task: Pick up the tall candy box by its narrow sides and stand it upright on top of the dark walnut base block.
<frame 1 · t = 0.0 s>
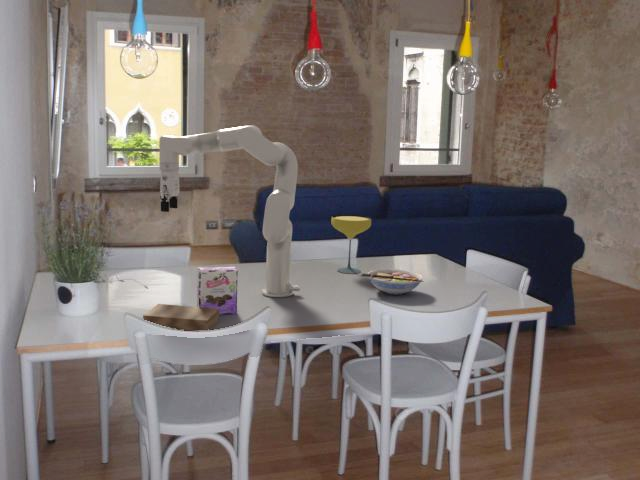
hand: (169, 209, 283), 31 cm above the table, tool pointing down, fingers open, 9 cm apart
ramen bowl: (394, 293, 292), on the table
candy box: (216, 313, 256), on the table
walnut base: (181, 323, 242), on the table
cocktail glass: (348, 271, 326), on the table
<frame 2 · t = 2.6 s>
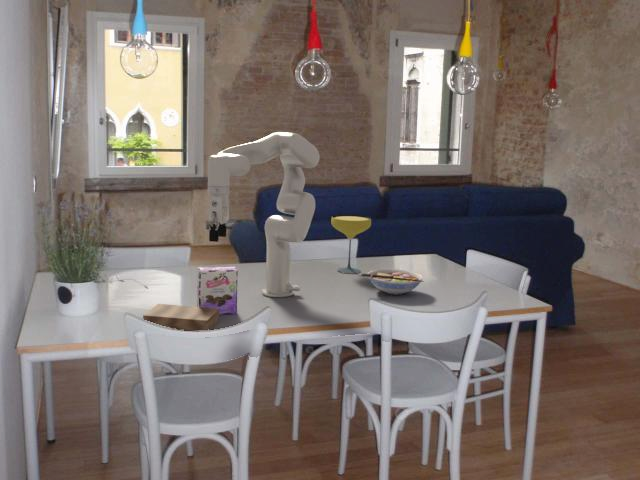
hand: (217, 238, 251), 27 cm above the table, tool pointing down, fingers open, 9 cm apart
nothing on the table moved.
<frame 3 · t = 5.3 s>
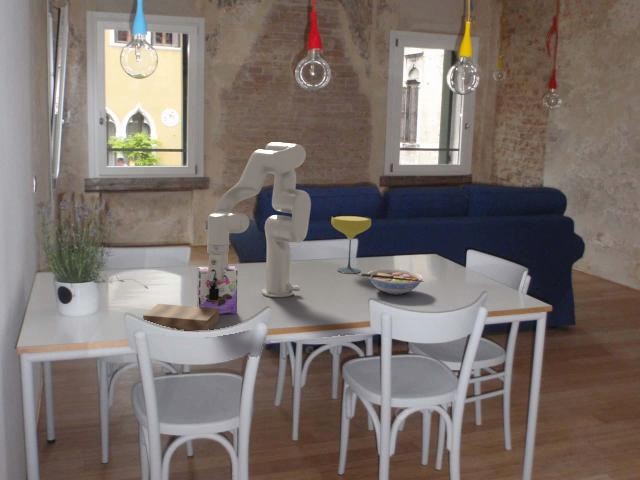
hand: (217, 296, 255), 6 cm above the table, tool pointing down, fingers closed on candy box, 7 cm apart
candy box: (216, 312, 256), on the table, touching gripper
everything else where it was.
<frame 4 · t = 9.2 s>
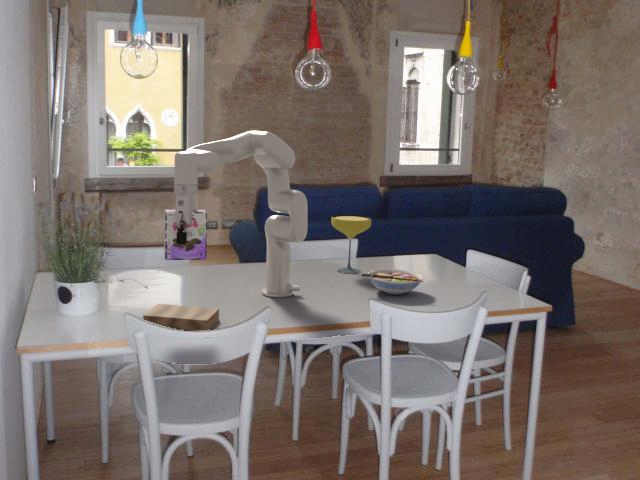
hand: (185, 241, 238), 28 cm above the table, tool pointing down, fingers closed on candy box, 7 cm apart
candy box: (185, 259, 239), point 22 cm above the table, touching gripper
everything else where it was.
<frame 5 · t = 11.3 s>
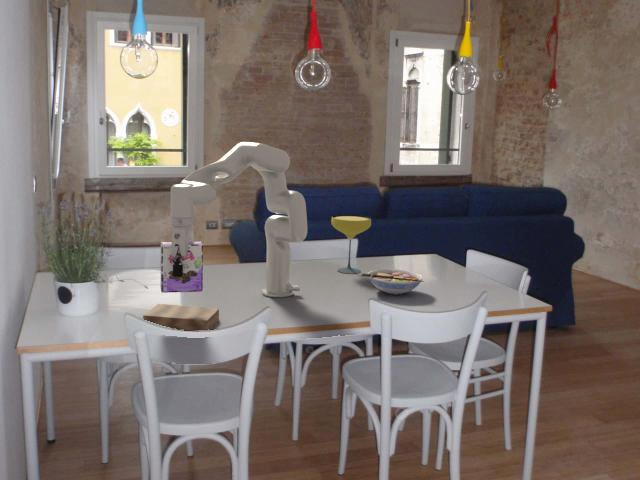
hand: (181, 273, 239), 18 cm above the table, tool pointing down, fingers closed on candy box, 7 cm apart
candy box: (181, 291, 240), point 11 cm above the table, touching gripper
everything else where it was.
when the fingers open (11 cm above the table, at t = 13.1 s): candy box drops 1 cm, resting on walnut base.
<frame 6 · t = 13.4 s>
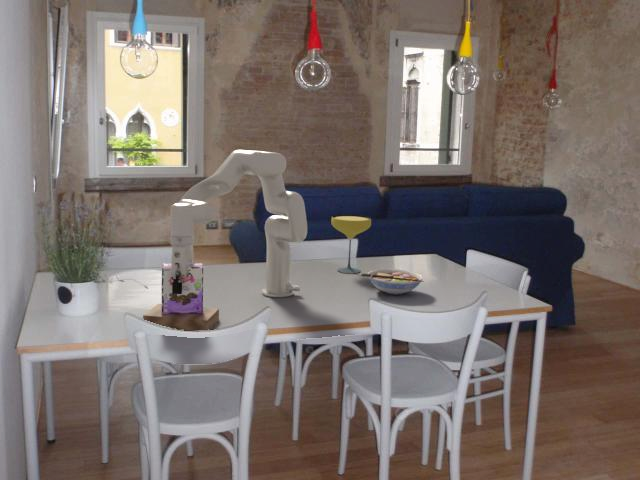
hand: (182, 289, 240), 12 cm above the table, tool pointing down, fingers open, 9 cm apart
candy box: (182, 312, 241), point 4 cm above the table, touching walnut base
everything else where it was.
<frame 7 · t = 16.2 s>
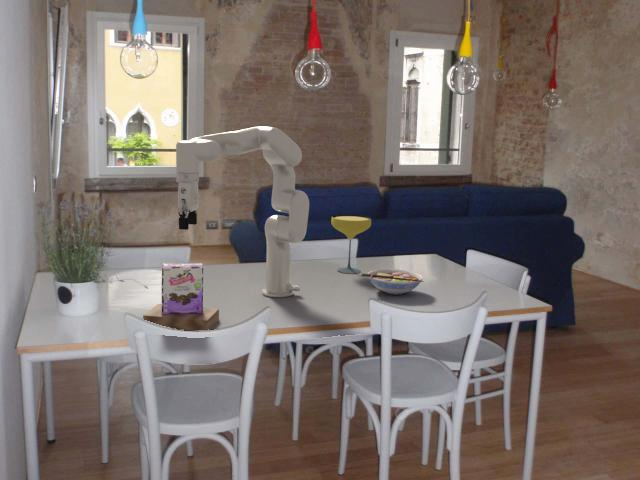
hand: (188, 226, 245), 32 cm above the table, tool pointing down, fingers open, 9 cm apart
nothing on the table moved.
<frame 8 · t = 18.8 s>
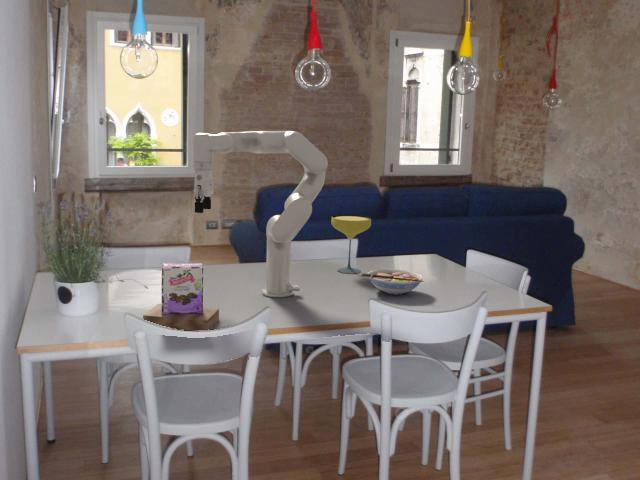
hand: (202, 210, 271), 33 cm above the table, tool pointing down, fingers open, 9 cm apart
nothing on the table moved.
at the end: candy box inside the target area on the walnut base (0.3 cm from its centre), point 3.8 cm above the walnut base's base; candy box tilted 0°; the gripper is holding nothing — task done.
